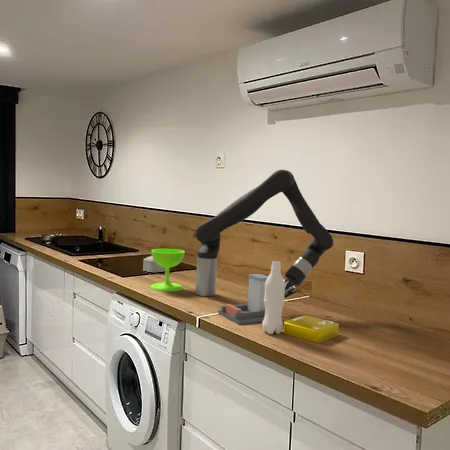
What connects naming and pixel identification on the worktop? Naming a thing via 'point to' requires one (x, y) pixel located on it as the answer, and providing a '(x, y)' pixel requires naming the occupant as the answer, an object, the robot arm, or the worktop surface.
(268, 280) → the water bottle
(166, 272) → the wineglass
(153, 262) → the lumpy-topped squat cylinder
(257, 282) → the grey tall block
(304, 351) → the worktop surface
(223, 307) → the track
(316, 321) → the element tile
